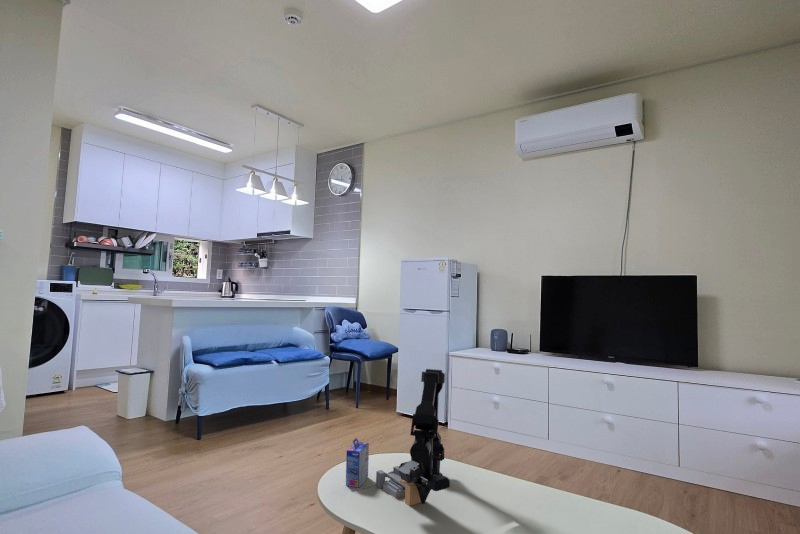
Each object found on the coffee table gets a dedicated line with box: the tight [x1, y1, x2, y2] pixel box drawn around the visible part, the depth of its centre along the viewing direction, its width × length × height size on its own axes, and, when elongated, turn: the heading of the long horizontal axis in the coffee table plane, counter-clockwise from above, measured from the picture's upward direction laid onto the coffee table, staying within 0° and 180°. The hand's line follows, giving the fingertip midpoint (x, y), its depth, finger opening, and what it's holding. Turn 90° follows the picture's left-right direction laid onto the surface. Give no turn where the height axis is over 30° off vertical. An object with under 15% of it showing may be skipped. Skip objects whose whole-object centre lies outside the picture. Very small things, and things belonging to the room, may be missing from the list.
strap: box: [385, 470, 406, 487], centre depth 146 cm, size 3×13×1 cm, turn 36°
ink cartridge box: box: [345, 437, 370, 488], centre depth 155 cm, size 10×6×14 cm, turn 165°
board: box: [362, 465, 405, 499], centre depth 143 cm, size 18×23×6 cm
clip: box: [400, 479, 421, 507], centre depth 140 cm, size 6×6×6 cm
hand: (423, 503), depth 136 cm, fingers closed
